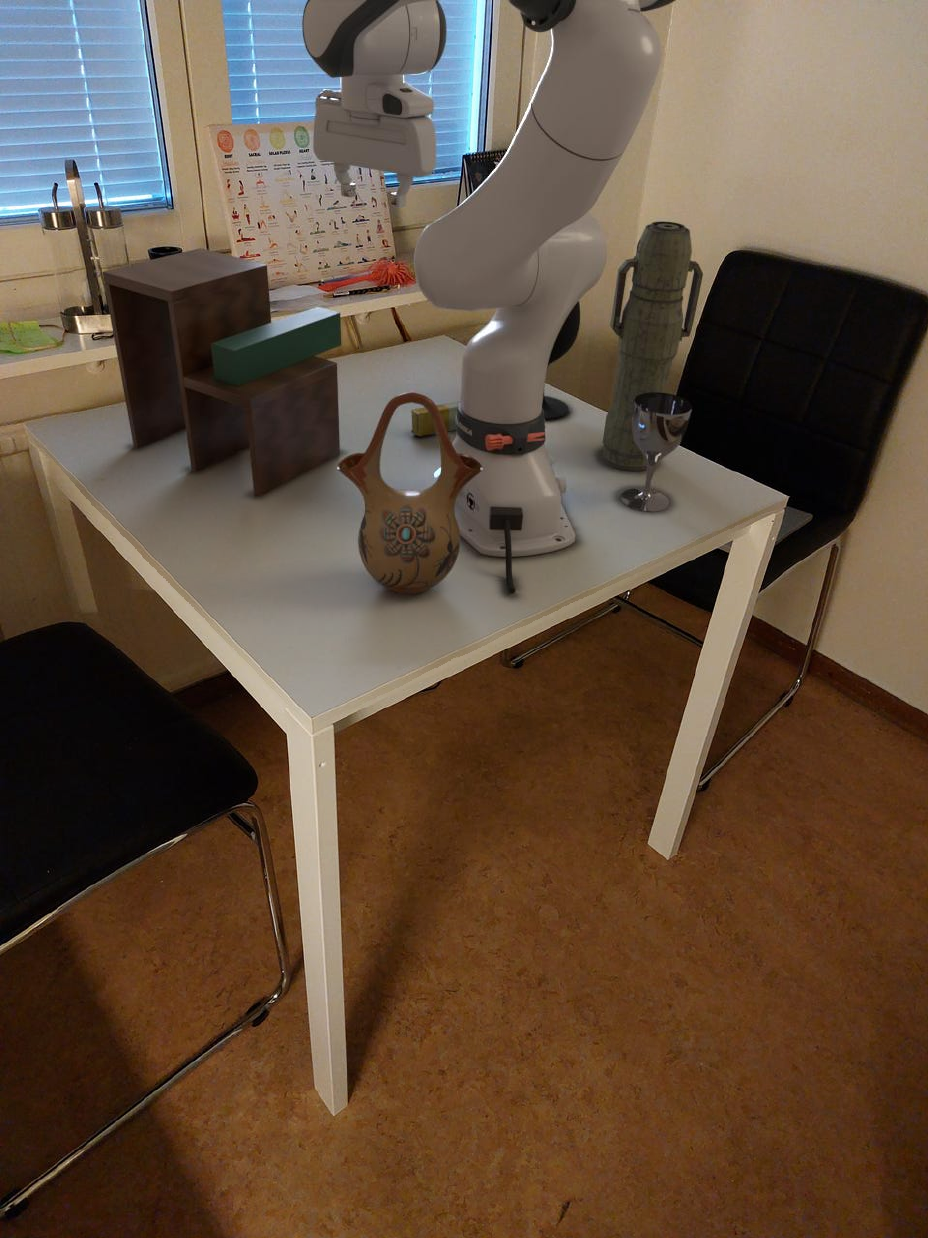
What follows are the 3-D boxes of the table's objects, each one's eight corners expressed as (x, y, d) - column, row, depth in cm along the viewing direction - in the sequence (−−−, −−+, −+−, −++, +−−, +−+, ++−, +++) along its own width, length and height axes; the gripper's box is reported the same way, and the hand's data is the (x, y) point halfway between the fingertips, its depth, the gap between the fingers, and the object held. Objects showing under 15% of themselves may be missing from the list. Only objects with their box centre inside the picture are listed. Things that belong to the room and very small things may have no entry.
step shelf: (219, 410, 150) (200, 247, 135) (340, 453, 139) (334, 281, 124) (133, 446, 137) (101, 271, 122) (259, 496, 127) (241, 311, 111)
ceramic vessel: (471, 565, 115) (483, 377, 100) (478, 606, 107) (492, 409, 93) (342, 566, 113) (335, 375, 98) (340, 608, 106) (333, 407, 91)
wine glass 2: (608, 489, 134) (624, 394, 125) (656, 484, 136) (674, 390, 127) (632, 515, 128) (650, 416, 119) (681, 509, 130) (703, 412, 121)
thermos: (584, 447, 145) (616, 217, 125) (653, 446, 147) (696, 218, 127) (599, 472, 138) (636, 232, 118) (672, 470, 140) (720, 233, 120)
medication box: (472, 421, 152) (472, 397, 150) (481, 425, 150) (481, 401, 148) (410, 432, 146) (410, 408, 144) (418, 437, 144) (418, 412, 142)
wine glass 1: (540, 425, 152) (553, 306, 140) (497, 405, 158) (506, 289, 146) (581, 411, 158) (596, 295, 146) (538, 392, 164) (550, 280, 152)
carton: (319, 339, 138) (317, 306, 136) (341, 345, 137) (340, 312, 134) (214, 379, 123) (210, 343, 120) (237, 386, 121) (234, 350, 118)
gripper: (301, 88, 128) (306, 193, 136) (417, 104, 120) (415, 215, 128) (329, 86, 133) (332, 187, 141) (443, 101, 124) (440, 208, 132)
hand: (373, 201), depth 134 cm, fingers open, 8 cm apart
